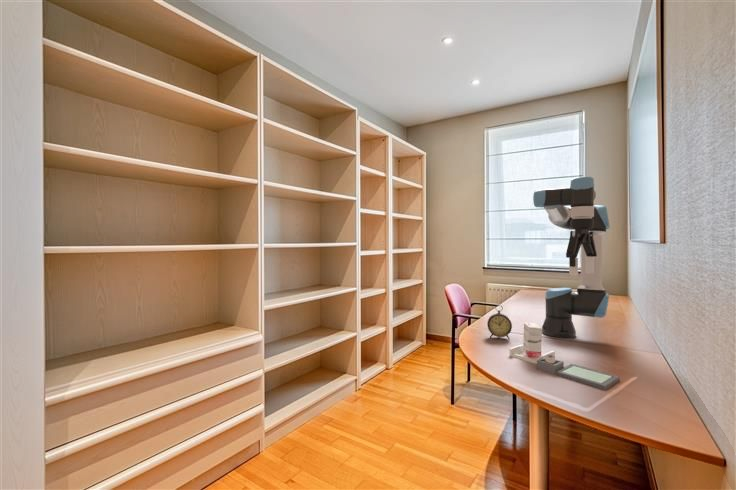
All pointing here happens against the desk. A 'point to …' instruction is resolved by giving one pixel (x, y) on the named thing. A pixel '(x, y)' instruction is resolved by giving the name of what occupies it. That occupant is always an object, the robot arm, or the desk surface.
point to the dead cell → (550, 359)
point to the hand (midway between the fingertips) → (581, 274)
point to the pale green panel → (587, 374)
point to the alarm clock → (499, 324)
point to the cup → (549, 365)
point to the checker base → (586, 381)
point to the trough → (520, 354)
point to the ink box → (532, 340)
